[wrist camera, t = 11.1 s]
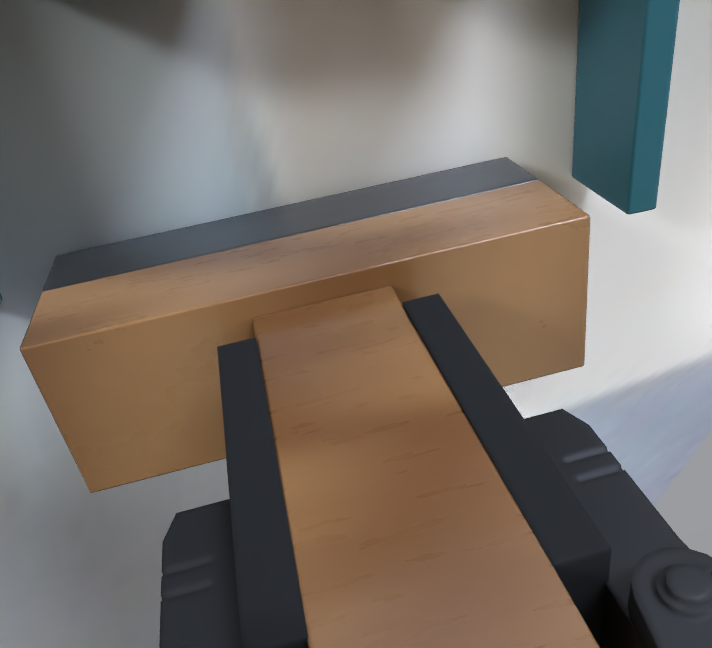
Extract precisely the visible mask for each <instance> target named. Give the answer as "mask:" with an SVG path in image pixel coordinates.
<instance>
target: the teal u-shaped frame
mask: <svg viewBox="0 0 712 648" xmlns="http://www.w3.org/2000/svg"><path fill="white" fill-rule="evenodd" d="M679 3H680V0H580V5H579V28H578V52H577V75H576V98H575V122H574V145H573V168H572V176H573V178H575V179H576V180H578V181H579V182H580V183H582V184H583V185H585V186H586V187H588V188H589V189H591V190H592V191H594V192H595V193H597V194H598V195H600V196H601V197H603V198H604V199H606V200H607V201H609V202H610V203H612V204H613V205H615V206H616V207H617V208H619V209H620V210H622V211H623V212H625V213H626V214H634V213H638V212H643V211H647V210H652V209H655V208H656V202H657V193H658V184H659V176H660V167H661V158H662V150H663V141H664V132H665V124H666V115H667V106H668V98H669V89H670V80H671V72H672V63H673V54H674V46H675V37H676V28H677V20H678V11H679ZM1 300H2V296H1V294H0V302H1Z"/></svg>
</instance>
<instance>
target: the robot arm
mask: <svg viewBox="0 0 712 648" xmlns="http://www.w3.org/2000/svg"><path fill="white" fill-rule="evenodd" d="M403 307H404V309H405V311H406V312H407V314H408V316H409V318H410V319H411V321H412V323H413V325H414V326H415V328H416V330H417V332H418V333H419V335H420V337H421V338H422V340H423V342H424V344H425V345H426V347H427V349H428V351H429V352H430V354H431V356H432V358H433V359H434V361H435V363H436V365H437V366H438V368H439V370H440V371H441V373H442V375H443V377H444V378H445V380H446V382H447V384H448V385H449V387H450V389H451V391H452V392H453V394H454V396H455V397H456V399H457V401H458V403H459V404H460V406H461V408H462V410H463V411H464V413H465V415H466V417H467V418H468V420H469V422H470V424H471V425H472V427H473V429H474V430H475V432H476V434H477V436H478V437H479V439H480V441H481V443H482V444H483V446H484V448H485V450H486V451H487V453H488V455H489V457H490V458H491V460H492V462H493V463H494V465H495V467H496V469H497V470H498V472H499V474H500V476H501V477H502V479H503V481H504V483H505V484H506V486H507V488H508V490H509V491H510V493H511V495H512V496H513V498H514V500H515V502H516V503H517V505H518V507H519V509H520V510H521V512H522V514H523V516H524V517H525V519H526V521H527V523H528V524H529V526H530V528H531V529H532V531H533V533H534V535H535V536H536V538H537V540H538V542H539V543H540V545H541V547H542V549H543V550H544V552H545V554H546V555H547V557H548V559H549V561H550V562H551V564H552V566H553V567H554V569H555V571H556V572H557V574H558V576H559V578H560V579H561V581H562V583H563V585H564V586H565V588H566V590H567V591H568V593H569V595H570V597H571V598H572V600H573V602H574V604H575V605H576V607H577V609H578V611H579V612H580V614H581V616H582V617H583V619H584V621H585V623H586V624H587V626H588V628H589V630H590V631H591V633H592V635H593V637H594V638H595V640H596V642H597V644H598V645H599V647H600V648H712V557H710V556H709V555H707V554H704V553H701V552H697V551H694V550H691V549H689V548H688V547H687V546H686V545H685V544H684V543H683V542H682V541H681V540H680V538H679V537H678V536H677V535H676V534H675V532H674V531H673V530H672V529H671V527H670V526H669V525H668V524H667V522H666V521H665V520H664V519H663V517H662V516H661V515H660V514H659V512H658V511H657V510H656V509H655V507H654V506H653V505H652V504H651V502H650V501H649V500H648V498H647V497H646V496H645V495H644V493H643V492H642V491H641V490H640V488H639V487H638V486H637V485H636V483H635V482H634V481H633V480H632V478H631V477H630V476H629V475H628V473H627V472H626V471H625V470H622V468H621V465H620V463H619V462H618V461H617V460H616V458H615V457H614V456H613V455H612V453H611V452H608V451H607V447H606V446H605V445H604V443H603V442H602V441H601V440H600V438H599V437H598V436H597V435H596V433H595V432H594V431H593V430H592V428H591V427H590V426H589V425H588V424H586V423H585V422H583V421H581V420H580V419H578V418H576V417H575V416H573V415H571V414H570V413H568V412H567V411H565V410H563V409H560V410H556V411H553V412H549V413H545V414H541V415H537V416H534V417H530V418H526V419H523V417H522V416H521V414H520V413H519V411H518V410H517V408H516V407H515V405H514V404H513V402H512V401H511V399H510V398H509V396H508V395H507V393H506V392H505V391H504V389H503V388H502V386H501V385H500V383H499V382H498V380H497V379H496V377H495V376H494V374H493V373H492V371H491V370H490V368H489V367H488V365H487V364H486V362H485V361H484V360H483V358H482V357H481V355H480V354H479V352H478V351H477V349H476V348H475V346H474V345H473V343H472V342H471V340H470V339H469V337H468V336H467V334H466V333H465V332H464V330H463V329H462V327H461V326H460V324H459V323H458V321H457V320H456V318H455V317H454V315H453V314H452V312H451V311H450V309H449V308H448V306H447V305H446V304H445V302H444V301H443V299H442V298H441V296H440V295H439V293H438V294H434V295H430V296H425V297H421V298H417V299H413V300H409V301H405V302H403ZM217 351H218V363H219V375H220V387H221V400H222V412H223V424H224V436H225V448H226V460H227V472H228V484H229V496H230V499H228V500H224V501H220V502H217V503H213V504H209V505H205V506H202V507H198V508H194V509H190V510H187V511H183V512H179V513H176V515H175V517H174V519H173V521H172V523H171V525H170V527H169V530H168V532H167V534H166V536H165V538H164V540H163V547H162V573H163V576H162V581H161V596H162V601H161V614H160V648H308V644H307V639H308V633H307V628H306V622H305V616H304V611H303V605H302V599H301V593H300V588H299V582H298V576H297V570H296V565H295V559H294V553H293V547H292V542H291V536H290V530H289V525H288V519H287V513H286V507H285V502H284V496H283V490H282V484H281V479H280V473H279V467H278V461H277V456H276V450H275V444H274V438H273V433H272V427H271V421H270V415H269V410H268V404H267V398H266V392H265V387H264V381H263V375H262V370H261V364H260V358H259V352H258V347H257V341H256V337H255V338H251V339H247V340H242V341H238V342H234V343H230V344H226V345H222V346H218V347H217Z"/></svg>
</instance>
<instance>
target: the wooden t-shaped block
mask: <svg viewBox="0 0 712 648" xmlns="http://www.w3.org/2000/svg"><path fill="white" fill-rule="evenodd" d="M589 234H590V216H589V215H588V214H586V213H585V212H584V211H582V210H581V209H579V208H578V207H577V206H575V205H574V204H572V203H571V202H569V201H568V200H567V199H565V198H564V197H562V196H561V195H560V194H558V193H557V192H555V191H554V190H553V189H551V188H550V187H548V186H547V185H546V184H544V183H543V182H541V181H540V180H538V179H537V178H535V177H534V176H533V175H531V174H530V173H528V172H527V171H526V170H524V169H523V168H521V167H520V166H519V165H517V164H516V163H514V162H513V161H512V160H510V159H509V158H507V157H504V158H499V159H495V160H490V161H486V162H481V163H477V164H472V165H468V166H463V167H458V168H454V169H449V170H445V171H440V172H436V173H431V174H427V175H422V176H417V177H413V178H408V179H404V180H399V181H395V182H390V183H386V184H381V185H376V186H372V187H367V188H363V189H358V190H354V191H349V192H345V193H340V194H336V195H331V196H326V197H322V198H317V199H313V200H308V201H304V202H299V203H295V204H290V205H285V206H281V207H276V208H272V209H267V210H263V211H258V212H254V213H249V214H244V215H240V216H235V217H231V218H226V219H222V220H217V221H213V222H208V223H204V224H199V225H194V226H190V227H185V228H181V229H176V230H172V231H167V232H163V233H158V234H153V235H149V236H144V237H140V238H135V239H131V240H126V241H122V242H117V243H112V244H108V245H103V246H99V247H94V248H90V249H85V250H81V251H76V252H71V253H67V254H62V255H58V256H56V258H55V261H54V264H53V266H52V269H51V271H50V274H49V276H48V279H47V281H46V284H45V286H44V289H43V292H42V293H41V296H40V299H39V301H38V304H37V306H36V309H35V311H34V314H33V316H32V319H31V321H30V324H29V326H28V329H27V332H26V334H25V337H24V339H23V342H22V344H21V347H20V351H21V353H22V355H23V357H24V359H25V361H26V363H27V365H28V367H29V369H30V371H31V373H32V375H33V377H34V379H35V381H36V383H37V385H38V387H39V389H40V391H41V393H42V395H43V398H44V400H45V402H46V404H47V406H48V408H49V410H50V412H51V414H52V416H53V418H54V420H55V422H56V424H57V426H58V428H59V430H60V432H61V434H62V436H63V438H64V440H65V442H66V444H67V446H68V448H69V450H70V452H71V454H72V456H73V458H74V460H75V462H76V464H77V466H78V468H79V470H80V472H81V474H82V476H83V478H84V480H85V482H86V484H87V486H88V488H89V490H90V492H91V493H93V492H97V491H101V490H105V489H108V488H112V487H116V486H120V485H124V484H128V483H132V482H136V481H139V480H143V479H147V478H151V477H155V476H159V475H163V474H167V473H171V472H174V471H178V470H182V469H186V468H190V467H194V466H198V465H202V464H205V463H209V462H213V461H217V460H221V459H225V458H226V448H225V436H224V424H223V412H222V400H221V387H220V375H219V363H218V351H217V347H218V346H222V345H226V344H230V343H234V342H238V341H242V340H247V339H251V338H255V337H256V341H257V347H258V352H259V358H260V364H261V370H262V375H263V381H264V387H265V392H266V398H267V404H268V410H269V415H270V421H271V427H272V433H273V438H274V444H275V450H276V456H277V461H278V467H279V473H280V479H281V484H282V490H283V496H284V502H285V507H286V513H287V519H288V525H289V530H290V536H291V542H292V547H293V553H294V559H295V565H296V570H297V576H298V582H299V588H300V593H301V599H302V605H303V611H304V616H305V622H306V628H307V633H308V639H307V644H308V648H600V647H599V645H598V644H597V642H596V640H595V638H594V637H593V635H592V633H591V631H590V630H589V628H588V626H587V624H586V623H585V621H584V619H583V617H582V616H581V614H580V612H579V611H578V609H577V607H576V605H575V604H574V602H573V600H572V598H571V597H570V595H569V593H568V591H567V590H566V588H565V586H564V585H563V583H562V581H561V579H560V578H559V576H558V574H557V572H556V571H555V569H554V567H553V566H552V564H551V562H550V561H549V559H548V557H547V555H546V554H545V552H544V550H543V549H542V547H541V545H540V543H539V542H538V540H537V538H536V536H535V535H534V533H533V531H532V529H531V528H530V526H529V524H528V523H527V521H526V519H525V517H524V516H523V514H522V512H521V510H520V509H519V507H518V505H517V503H516V502H515V500H514V498H513V496H512V495H511V493H510V491H509V490H508V488H507V486H506V484H505V483H504V481H503V479H502V477H501V476H500V474H499V472H498V470H497V469H496V467H495V465H494V463H493V462H492V460H491V458H490V457H489V455H488V453H487V451H486V450H485V448H484V446H483V444H482V443H481V441H480V439H479V437H478V436H477V434H476V432H475V430H474V429H473V427H472V425H471V424H470V422H469V420H468V418H467V417H466V415H465V413H464V411H463V410H462V408H461V406H460V404H459V403H458V401H457V399H456V397H455V396H454V394H453V392H452V391H451V389H450V387H449V385H448V384H447V382H446V380H445V378H444V377H443V375H442V373H441V371H440V370H439V368H438V366H437V365H436V363H435V361H434V359H433V358H432V356H431V354H430V352H429V351H428V349H427V347H426V345H425V344H424V342H423V340H422V338H421V337H420V335H419V333H418V332H417V330H416V328H415V326H414V325H413V323H412V321H411V319H410V318H409V316H408V314H407V312H406V311H405V309H404V307H403V302H405V301H409V300H413V299H417V298H421V297H425V296H430V295H434V294H438V293H439V295H440V296H441V298H442V299H443V301H444V302H445V304H446V305H447V306H448V308H449V309H450V311H451V312H452V314H453V315H454V317H455V318H456V320H457V321H458V323H459V324H460V326H461V327H462V329H463V330H464V332H465V333H466V334H467V336H468V337H469V339H470V340H471V342H472V343H473V345H474V346H475V348H476V349H477V351H478V352H479V354H480V355H481V357H482V358H483V360H484V361H485V362H486V364H487V365H488V367H489V368H490V370H491V371H492V373H493V374H494V376H495V377H496V379H497V380H498V382H499V383H500V385H501V386H502V387H504V386H508V385H512V384H515V383H519V382H523V381H527V380H531V379H535V378H539V377H543V376H546V375H550V374H554V373H558V372H562V371H566V370H570V369H574V368H577V367H581V366H584V357H585V332H586V308H587V283H588V259H589Z"/></svg>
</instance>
